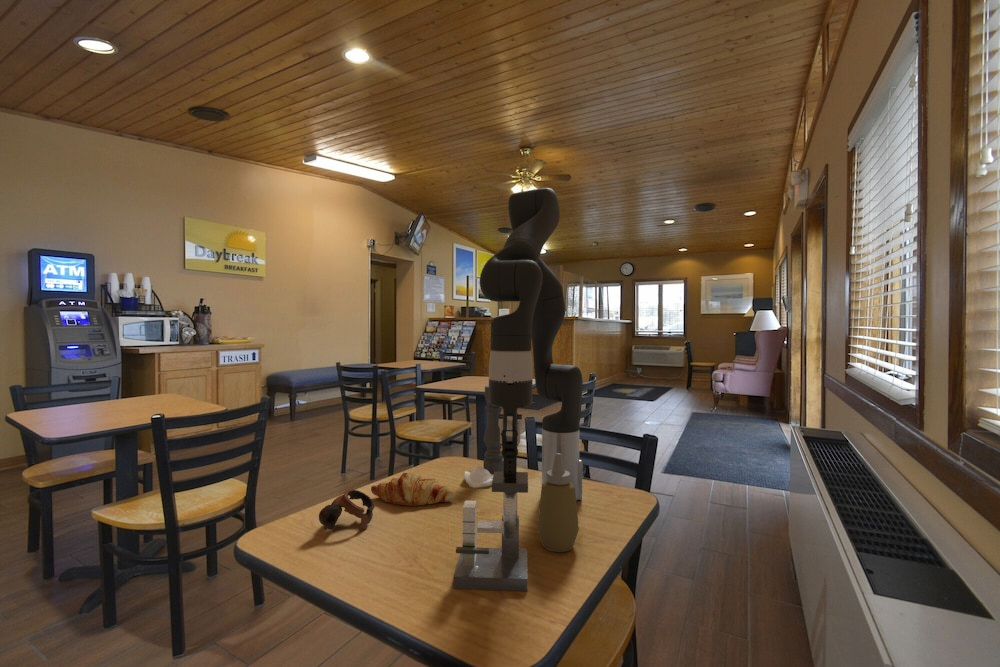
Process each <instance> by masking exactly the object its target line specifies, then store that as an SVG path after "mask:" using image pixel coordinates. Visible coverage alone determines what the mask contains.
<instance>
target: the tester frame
mask: <svg viewBox="0 0 1000 667" xmlns="http://www.w3.org/2000/svg"><path fill="white" fill-rule="evenodd" d="M501 521H503V514H502V515H501ZM461 547H477V500H465V501H464V503H463V506H462V545H461ZM488 548H489V554H464V553H459V557H458V559H457V560H458V561H457V564H456V567H455V571H454V575H453V589H456V590H458V589H459V590H477V591H478V590H479V591H481V590H485V591H508V592H509V591H515V592H528V590H529V589H528V582H529V581H528V578H529V577H528V576H529V575H528V549H527V548H520V516H519V515H517V536H516V537H515V538H506V537H504V536H503V533H501V548H500V547H488Z"/></svg>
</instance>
